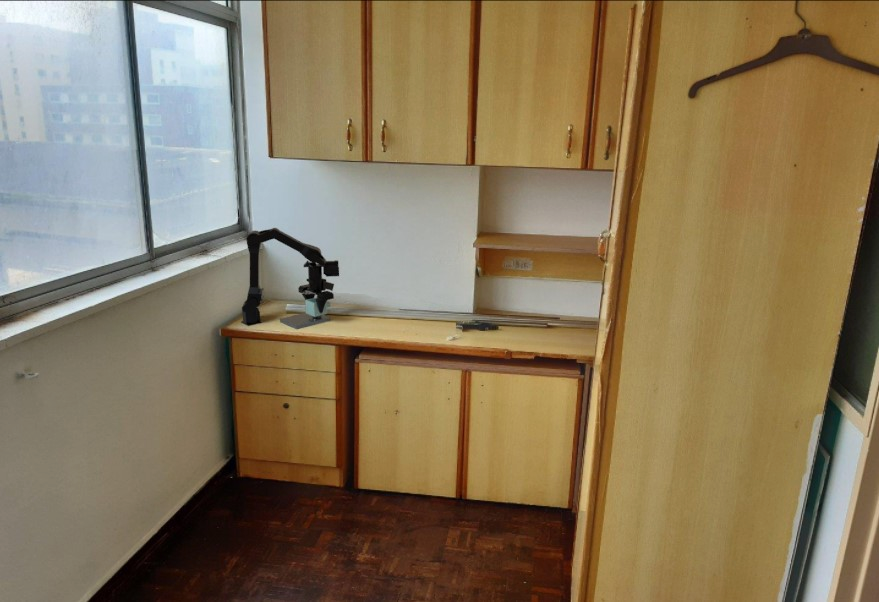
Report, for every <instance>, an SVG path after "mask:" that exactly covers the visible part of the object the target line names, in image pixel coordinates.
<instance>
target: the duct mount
mask: <svg viewBox="0 0 879 602" xmlns="http://www.w3.org/2000/svg"><path fill="white" fill-rule="evenodd" d="M330 321H331V318H330V317H329V316H326V314H324V315H320V316H316V317H314V316H311V315H309V314H307V313H306V312H303V313H302V312H301V313H298V314H297V313H296V314H293V315H290V316H286V317H282V318H279V322H280V323H281V324H283V325H286V326H287V327H291V328H293V329H295V330H298V329H304V328H307V327H312V326H315V325H319V324H323V323H326V322H327V323H328V322H330Z"/></svg>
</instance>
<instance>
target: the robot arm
mask: <svg viewBox="0 0 879 602" xmlns="http://www.w3.org/2000/svg"><path fill="white" fill-rule="evenodd" d="M271 240H276V241H278V242H280V243H282V244H284V245H285V246H287V247H289V248H291V249H293V251H294V250H295V251H297V252H299V254H301V255H302V256H303V257H304V258H305V259H307V260H306V262H304V264H303V268H307V272H308V273H307V274H308V278H306V282H308V284H302V285H299V286H298V293H299V294H301V295H302V297H303V299H304V301H305V300H308V299H313V298H315V296H316V298H318V299H316V303H317V306H318V309H319V312H320V313H322V312H323V309H324V306H325V303H326V301H329V300H333V299H334V297H335V296H334V292H333V290H334V286H335V283H332V282H329V281H327V279H326V278H323V275H324V276H325V277H328V278H329V277H340V266H339V259H338V260H337V259H336V260H327V259H326V258H325V257H324V256H323V254H322V251H321V249H320V247H317V246H315V245H312V244H308V243H304V242H302V241H301V240H298V239H297V238H295V237H293V236H291V235H289V234H287V233H286V232H284V231H281V230H280V229H279V228H277V227H272V228H269V229H262V230H261V231H259V230H252V231H250V232H249V233H248V235H247V236H246V245H247V250H248V253H249V287H248V292H247V298H246V300H245V301H244V302H243V304H242V306H241V312H242V313H241V315H242V320H241V321H240V323H242V324H243V325H246V326H254V325H258V324H262V321H261V311H260V308H259V307H260V305H261V303H262V302H263V300H264V298H265V296H264V289H265V288H264V287H261V285H260V253H261V247H262V243H266V242H268V241H271Z"/></svg>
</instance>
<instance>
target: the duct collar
mask: <svg viewBox="0 0 879 602" xmlns="http://www.w3.org/2000/svg"><path fill="white" fill-rule="evenodd" d="M316 299H318V298H317V297H314V298H313V299H308V300H305V299H304V301H305V313H307V314H309V315H311V316H314V317H316V316H320V315H327V314H328V308H330V307H331V302H330V301H329V300H327V301H326V303H325V306H324V309H323V312H322V313H320V312H319V309H318V306H317V303H316Z"/></svg>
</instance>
